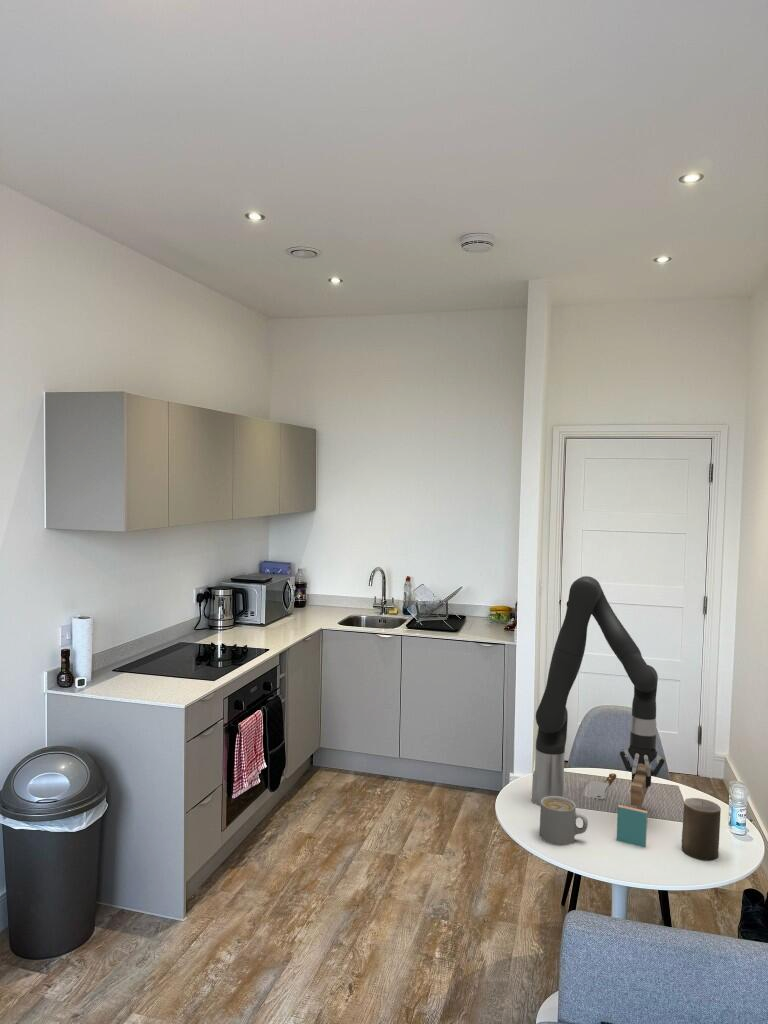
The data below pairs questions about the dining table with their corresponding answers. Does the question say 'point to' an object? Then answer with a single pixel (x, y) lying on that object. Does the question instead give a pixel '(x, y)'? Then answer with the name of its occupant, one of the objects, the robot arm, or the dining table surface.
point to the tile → (632, 825)
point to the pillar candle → (701, 828)
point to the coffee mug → (560, 820)
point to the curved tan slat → (639, 786)
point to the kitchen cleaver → (601, 787)
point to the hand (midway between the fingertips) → (641, 785)
